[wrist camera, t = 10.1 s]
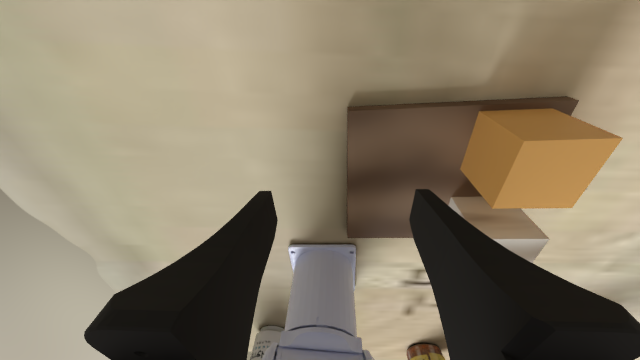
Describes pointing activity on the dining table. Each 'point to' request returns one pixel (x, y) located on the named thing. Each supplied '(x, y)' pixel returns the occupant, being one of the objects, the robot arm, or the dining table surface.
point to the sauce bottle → (424, 352)
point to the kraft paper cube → (534, 157)
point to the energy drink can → (265, 340)
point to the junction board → (428, 169)
